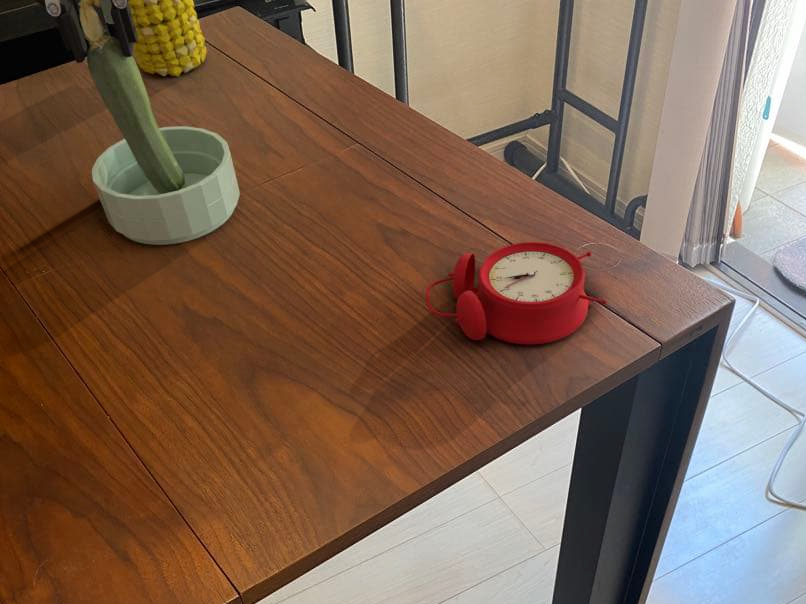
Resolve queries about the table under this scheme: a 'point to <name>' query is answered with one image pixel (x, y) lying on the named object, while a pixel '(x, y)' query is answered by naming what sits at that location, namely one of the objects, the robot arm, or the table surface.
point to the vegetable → (128, 103)
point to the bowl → (175, 211)
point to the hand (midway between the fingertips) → (105, 51)
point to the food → (167, 36)
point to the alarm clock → (520, 294)
